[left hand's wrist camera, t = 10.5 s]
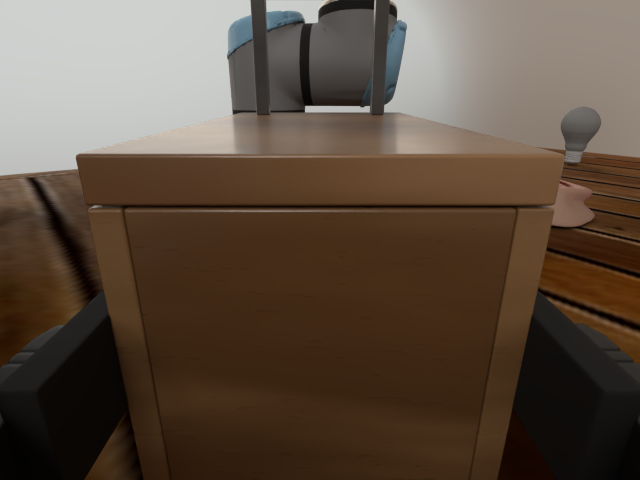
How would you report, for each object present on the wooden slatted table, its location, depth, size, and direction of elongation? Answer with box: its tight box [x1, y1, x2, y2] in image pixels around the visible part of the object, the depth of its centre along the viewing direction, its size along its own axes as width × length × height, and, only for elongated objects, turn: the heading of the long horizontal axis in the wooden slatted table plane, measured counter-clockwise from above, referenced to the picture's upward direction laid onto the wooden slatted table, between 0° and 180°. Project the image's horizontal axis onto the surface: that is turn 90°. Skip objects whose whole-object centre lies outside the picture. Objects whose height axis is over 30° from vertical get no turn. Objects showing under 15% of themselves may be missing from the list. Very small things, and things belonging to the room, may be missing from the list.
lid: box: [76, 0, 565, 206], centre depth 15 cm, size 18×10×8 cm, turn 0°
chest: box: [88, 206, 554, 480], centre depth 18 cm, size 17×10×10 cm, turn 0°
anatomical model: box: [548, 180, 595, 227], centre depth 45 cm, size 13×4×12 cm
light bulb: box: [561, 107, 601, 164], centre depth 72 cm, size 6×6×10 cm
